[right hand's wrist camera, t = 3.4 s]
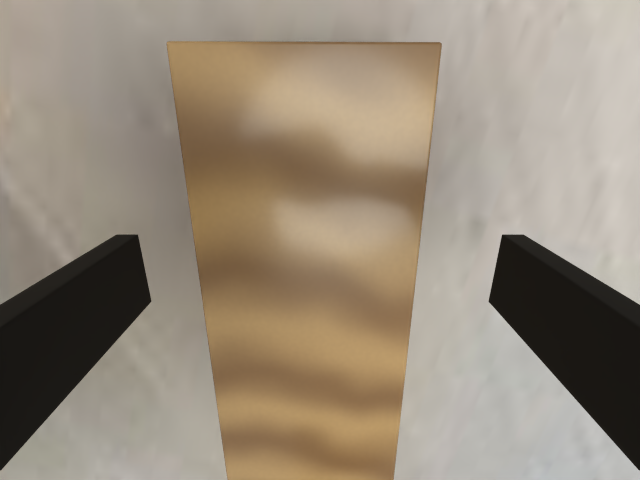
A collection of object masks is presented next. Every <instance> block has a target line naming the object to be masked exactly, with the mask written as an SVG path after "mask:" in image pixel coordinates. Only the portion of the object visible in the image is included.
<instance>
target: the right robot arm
mask: <svg viewBox="0 0 640 480" xmlns="http://www.w3.org/2000/svg"><path fill="white" fill-rule="evenodd" d="M150 302H151V297H150V293H149V288H148V283H147V278H146V273H145V268H144V263H143V258H142V253H141V248H140V243H139V238H138V235H115V236H114V237H112V238H110V239H109V240H107V241H105V242H104V243H102V244H100V245H99V246H97V247H95V248H94V249H92V250H90V251H89V252H87V253H85V254H84V255H82V256H80V257H79V258H77V259H75V260H74V261H72V262H70V263H69V264H67V265H66V266H64V267H62V268H61V269H59V270H57V271H56V272H54V273H52V274H51V275H49V276H47V277H46V278H44V279H42V280H41V281H39V282H37V283H36V284H34V285H32V286H31V287H29V288H27V289H26V290H24V291H22V292H21V293H19V294H17V295H16V296H14V297H12V298H11V299H9V300H8V301H6V302H4V303H3V304H1V305H0V470H2V468H3V467H4V466H5V465H6V464H7V463H8V462H9V461H10V460H11V458H12V457H13V456H14V455H15V454H16V453H17V452H18V451H19V449H20V448H21V447H22V446H23V445H24V444H25V443H26V442H27V440H28V439H29V438H30V437H31V436H32V435H33V434H34V433H35V431H36V430H37V429H38V428H39V427H40V426H41V425H42V424H43V422H44V421H45V420H46V419H47V418H48V417H49V416H50V415H51V413H52V412H53V411H54V410H55V409H56V408H57V407H58V406H59V404H60V403H61V402H62V401H63V400H64V399H65V398H66V397H67V395H68V394H69V393H70V392H71V391H72V390H73V389H74V388H75V387H76V385H77V384H78V383H79V382H80V381H81V380H82V379H83V378H84V376H85V375H86V374H87V373H88V372H89V371H90V370H91V369H92V367H93V366H94V365H95V364H96V363H97V362H98V361H99V360H100V358H101V357H102V356H103V355H104V354H105V353H106V352H107V351H108V349H109V348H110V347H111V346H112V345H113V344H114V343H115V342H116V340H117V339H118V338H119V337H120V336H121V335H122V334H123V333H124V331H125V330H126V329H127V328H128V327H129V326H130V325H131V324H132V323H133V321H134V320H135V319H136V318H137V317H138V316H139V315H140V314H141V312H142V311H143V310H144V309H145V308H146V307H147V306H148V305H149V303H150ZM489 302H490V303H491V305H492V306H493V307H494V308H495V309H496V310H497V311H498V312H499V314H500V315H501V316H502V317H503V318H504V319H505V320H506V321H507V323H508V324H509V325H510V326H511V327H512V328H513V329H514V330H515V331H516V333H517V334H518V335H519V336H520V337H521V338H522V339H523V340H524V342H525V343H526V344H527V345H528V346H529V347H530V348H531V349H532V351H533V352H534V353H535V354H536V355H537V356H538V357H539V358H540V360H541V361H542V362H543V363H544V364H545V365H546V366H547V367H548V369H549V370H550V371H551V372H552V373H553V374H554V375H555V376H556V378H557V379H558V380H559V381H560V382H561V383H562V384H563V385H564V387H565V388H566V389H567V390H568V391H569V392H570V393H571V394H572V395H573V397H574V398H575V399H576V400H577V401H578V402H579V403H580V404H581V406H582V407H583V408H584V409H585V410H586V411H587V412H588V413H589V415H590V416H591V417H592V418H593V419H594V420H595V421H596V422H597V424H598V425H599V426H600V427H601V428H602V429H603V430H604V431H605V433H606V434H607V435H608V436H609V437H610V438H611V439H612V440H613V442H614V443H615V444H616V445H617V446H618V447H619V448H620V449H621V451H622V452H623V453H624V454H625V455H626V456H627V457H628V458H629V460H630V461H631V462H632V463H633V464H634V465H635V466H636V467H637V468H638V470H640V305H639V304H637V303H636V302H634V301H632V300H631V299H629V298H628V297H626V296H624V295H623V294H621V293H619V292H618V291H616V290H614V289H613V288H611V287H609V286H608V285H606V284H604V283H603V282H601V281H599V280H598V279H596V278H594V277H593V276H591V275H589V274H588V273H586V272H584V271H583V270H581V269H579V268H578V267H576V266H574V265H573V264H571V263H569V262H568V261H566V260H565V259H563V258H561V257H560V256H558V255H556V254H555V253H553V252H551V251H550V250H548V249H546V248H545V247H543V246H541V245H540V244H538V243H536V242H535V241H533V240H531V239H530V238H528V237H526V236H525V235H502V238H501V243H500V248H499V253H498V258H497V263H496V268H495V273H494V278H493V283H492V288H491V293H490V297H489Z"/></svg>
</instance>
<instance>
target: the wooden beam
mask: <svg viewBox="0 0 640 480" xmlns="http://www.w3.org/2000/svg"><path fill="white" fill-rule="evenodd" d="M441 47H442V44H441V43H440V42H224V41H169V42H167V50H168V57H169V64H170V71H171V78H172V86H173V93H174V100H175V107H176V114H177V121H178V128H179V136H180V143H181V150H182V157H183V164H184V171H185V179H186V186H187V193H188V200H189V207H190V214H191V222H192V229H193V236H194V243H195V250H196V257H197V265H198V272H199V279H200V286H201V293H202V300H203V308H204V315H205V322H206V329H207V336H208V343H209V350H210V358H211V365H212V372H213V379H214V386H215V393H216V401H217V408H218V415H219V422H220V429H221V436H222V444H223V451H224V458H225V465H226V472H227V479H228V480H393V479H394V470H395V461H396V452H397V443H398V434H399V425H400V416H401V407H402V398H403V389H404V380H405V371H406V362H407V353H408V344H409V335H410V326H411V317H412V308H413V299H414V290H415V281H416V272H417V263H418V254H419V245H420V236H421V227H422V218H423V209H424V200H425V191H426V182H427V173H428V164H429V155H430V146H431V137H432V128H433V119H434V110H435V101H436V92H437V83H438V74H439V65H440V56H441Z"/></svg>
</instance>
